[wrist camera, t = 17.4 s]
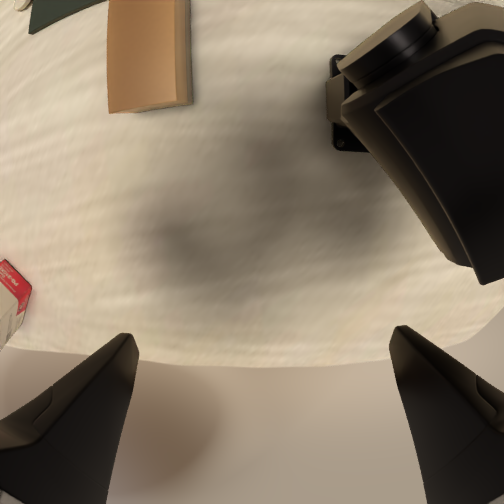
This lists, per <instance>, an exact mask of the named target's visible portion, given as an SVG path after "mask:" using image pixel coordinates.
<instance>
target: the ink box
mask: <svg viewBox="0 0 504 504" xmlns="http://www.w3.org/2000/svg"><path fill="white" fill-rule="evenodd" d="M30 292H31V286H30V284H29V283H27V282H26V281H25V280H24V279H23V278H22V277H21V275H20V274H18V273H17V271H15V270H14V269H13V268H12V267H11V266H10V265H9V264H8V263H7V261H6V260H3V261H2V262H1V263H0V351H1V350H2V348H3V347H4V346H5V344H6V343H7V342H8V341H9V339H10V338H11V337H12V336H13V334H14V333H15V332H16V331H17V329H18V328H19V327H20V326H21V324H22V320H23V316H24V313H25V309H26V305H27V302H28V298H29V295H30Z"/></svg>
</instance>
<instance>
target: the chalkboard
mask: <svg viewBox="0 0 504 504" xmlns="http://www.w3.org/2000/svg"><path fill="white" fill-rule="evenodd" d="M102 1H105V0H33V5H32V11H31V17H30V24H29V32H28V34H34V33H36V32H37V31H39V30H41V29H43V28H45V27H47V26H48V25H50V24H52V23H54V22H56V21H58V20H60V19H62V18H64V17H67V16H69V15H71V14H73V13H75V12H78V11H80V10H82V9H85V8H87V7H89V6H92V5H94V4H97V3H100V2H102Z"/></svg>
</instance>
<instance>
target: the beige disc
mask: <svg viewBox="0 0 504 504" xmlns="http://www.w3.org/2000/svg"><path fill="white" fill-rule="evenodd" d="M30 1H31V0H15V2H14V10H16V11H21V10H23V9H24V8H25V7H26V6H27V5H28V4H29V2H30Z"/></svg>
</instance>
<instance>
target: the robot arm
mask: <svg viewBox="0 0 504 504" xmlns="http://www.w3.org/2000/svg"><path fill="white" fill-rule="evenodd" d="M336 59H339V60H340V62H339V63H338V64H336V62H335V60H336ZM330 74H331V79H329V80H328V81H327V82H326V103H327V119H328V120H329V121H330V122H332V146H333V147H334V148H335V149H336V150H339V151H352V152H368V153H371V154H372V156H373V157H374V158H375V159H376V161H377V162H378V163H379V164H380V166H381V167H382V168H383V169H384V171H385V172H386V173H387V175H388V176H389V177H390V178H391V180H392V181H393V182H394V184H395V185H396V186H397V188H398V189H399V191H400V192H401V193H402V195H403V196H404V197H405V199H406V200H407V202H408V203H409V205H410V206H411V207H412V209H413V210H414V212H415V213H416V215H417V216H418V218H419V219H420V221H421V222H422V224H423V225H424V227H425V229H426V230H427V232H428V233H429V235H430V237H431V238H432V240H433V241H434V242H435V244H436V245H437V247H438V248H439V250H440V251H441V252H442V253H444V255H445V257H446V258H447V259H448V260H450V261H452V262H454V263H455V264H457V265H461V266H466V267H471V268H473V269H474V272H475V274H476V276H477V279H478V281H479V283H480V284H481V285H486V284H488V283H491V282H494V281H497V280H500V279H502V278H504V8H503V7H499V6H494V5H490V4H485V3H479V2H473V3H469V4H467V5H465V6H463V7H461V8H458V9H456V10H454V11H452V12H450V13H448V14H446V15H444V16H442V17H440V18H438V17H437V16H436V15H435V14H434V13H433V11H432V10H431V9H430V8H429V7H428V6H427V5H426V4H425V2H424V1H423V0H421V1H419V2H418V3H416V4H414V5H413V6H411V7H409V8H408V9H406V10H405V11H403V12H402V13H400V14H398V15H397V16H395V17H394V18H393V19H391V20H390V21H389V22H387V23H386V24H385V25H384V26H382V27H381V28H380V29H378V30H377V31H376V32H375V33H373V34H372V35H371V36H370V37H368V38H367V39H366V40H365V41H364V42H362V43H361V44H360V45H359V46H357V47H356V48H355V49H354V50H353V51H352V52H350V53H349V54H348V55H339V54H338V55H334V56H333V57H332V58H331V59H330ZM340 139H341V140H342V142H343V144H342V146H340V147H339V146H338V145H337V141H338V140H340ZM389 351H390V355H391V360H392V364H393V368H394V373H395V378H396V383H397V386H398V390H399V393H400V396H401V400H402V403H403V406H404V409H405V413H406V416H407V420H408V423H409V427H410V430H411V434H412V437H413V441H414V445H415V449H416V453H417V457H418V461H419V465H420V470H421V474H422V479H423V482H424V489H425V494H426V499H427V504H504V393H503V392H502V391H500V390H499V389H497V388H495V387H494V386H492V385H491V384H489V383H488V382H486V381H485V380H484V379H482V378H481V377H479V376H478V375H476V374H475V373H474V372H473V371H471V370H470V369H468V368H467V367H465V366H464V365H463V364H461V363H460V362H458V361H457V360H456V359H454V358H453V357H452V356H450V355H449V354H447V353H446V352H444V351H443V350H442V349H440V348H439V347H437V346H436V345H434V344H433V343H432V342H430V341H429V340H427V339H426V338H424V337H423V336H422V335H420V334H419V333H417V332H416V331H414V330H413V329H411V328H410V327H408V326H407V325H402V326H397V327H395V329H394V331H393V334H392V337H391V340H390V343H389ZM138 359H139V350H138V347H137V345H136V342H135V340H134V337H133V335H132V334H130V333H120V334H118V335H117V336H116V337H115V338H113V339H112V340H111V341H109V342H108V343H107V344H105V345H104V346H103V347H101V348H100V349H99V350H97V351H96V352H95V353H93V354H92V355H91V356H89V357H88V358H87V359H86V360H84V361H83V362H82V363H80V364H79V365H78V366H76V367H75V368H74V369H73V370H71V371H70V372H69V373H68V374H66V375H65V376H63V377H62V378H61V379H60V380H58V381H57V382H56V383H54V384H53V386H50V387H49V388H48V389H47V390H45V391H44V392H43V393H41V394H40V395H39V396H38V397H36V398H35V399H34V400H32V401H30V402H29V403H27V404H26V405H24V406H22V407H21V408H19V409H18V410H16V411H15V412H13V413H11V414H10V415H8V416H7V417H5V418H3V419H2V420H0V504H106V500H107V495H108V489H109V484H110V480H111V475H112V470H113V466H114V461H115V457H116V453H117V449H118V445H119V441H120V437H121V433H122V429H123V425H124V421H125V417H126V414H127V410H128V407H129V403H130V399H131V396H132V392H133V387H134V381H135V375H136V369H137V364H138Z"/></svg>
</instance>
